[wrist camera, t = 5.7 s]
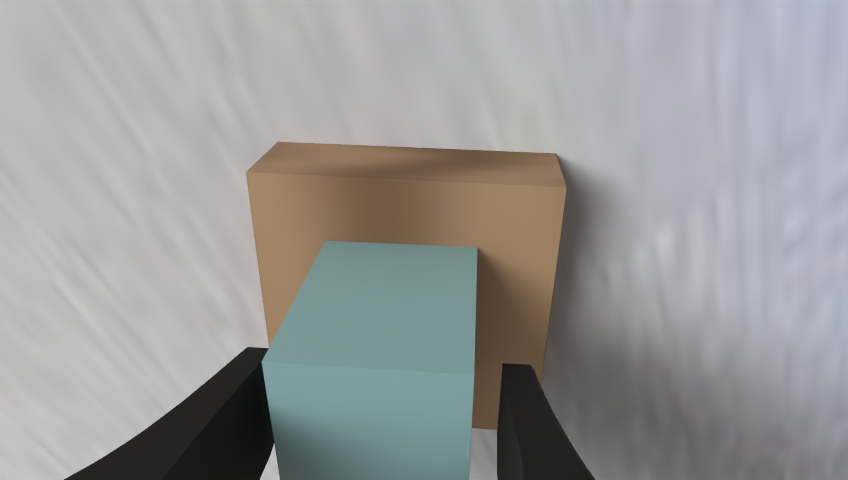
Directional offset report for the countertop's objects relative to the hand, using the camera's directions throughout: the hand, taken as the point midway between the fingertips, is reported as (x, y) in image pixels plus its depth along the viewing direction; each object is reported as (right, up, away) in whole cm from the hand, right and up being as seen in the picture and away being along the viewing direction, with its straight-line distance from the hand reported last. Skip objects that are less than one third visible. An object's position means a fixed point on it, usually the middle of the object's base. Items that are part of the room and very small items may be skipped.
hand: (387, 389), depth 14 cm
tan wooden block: (+1, +3, +5) cm, 6 cm away
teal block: (0, +2, +3) cm, 3 cm away
